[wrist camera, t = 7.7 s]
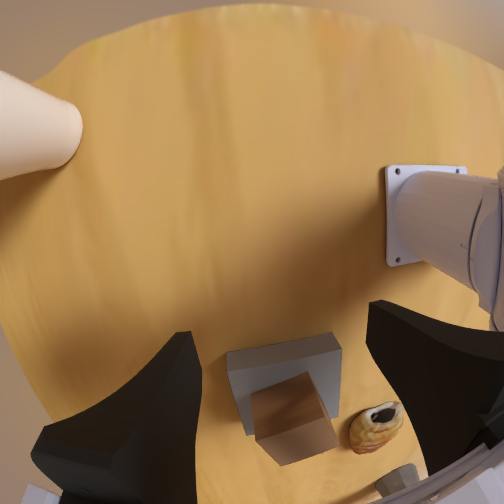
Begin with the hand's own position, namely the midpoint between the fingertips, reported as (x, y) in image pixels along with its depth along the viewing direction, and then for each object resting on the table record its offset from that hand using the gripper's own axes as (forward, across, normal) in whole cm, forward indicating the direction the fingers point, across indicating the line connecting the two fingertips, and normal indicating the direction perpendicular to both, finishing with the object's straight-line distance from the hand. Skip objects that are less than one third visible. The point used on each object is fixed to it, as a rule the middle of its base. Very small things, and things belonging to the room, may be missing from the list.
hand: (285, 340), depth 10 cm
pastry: (+10, -12, +24) cm, 28 cm away
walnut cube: (+7, -1, +12) cm, 14 cm away
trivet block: (+10, -1, +12) cm, 16 cm away
